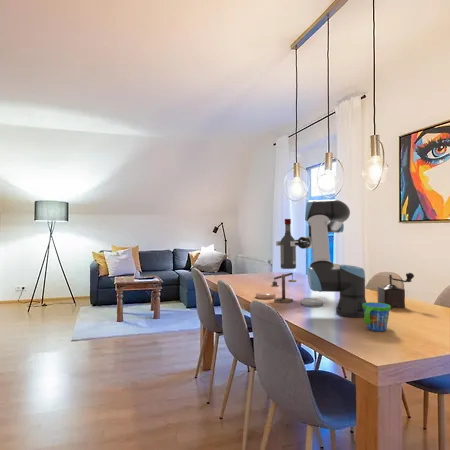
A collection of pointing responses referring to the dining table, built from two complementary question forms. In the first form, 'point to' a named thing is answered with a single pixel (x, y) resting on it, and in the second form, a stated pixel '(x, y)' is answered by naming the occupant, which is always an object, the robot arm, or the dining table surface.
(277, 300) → the balance
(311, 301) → the grey dish
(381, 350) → the dining table surface
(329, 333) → the dining table surface
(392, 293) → the manual coffee grinder
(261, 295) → the terracotta dish
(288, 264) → the liquor
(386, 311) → the snack cup
